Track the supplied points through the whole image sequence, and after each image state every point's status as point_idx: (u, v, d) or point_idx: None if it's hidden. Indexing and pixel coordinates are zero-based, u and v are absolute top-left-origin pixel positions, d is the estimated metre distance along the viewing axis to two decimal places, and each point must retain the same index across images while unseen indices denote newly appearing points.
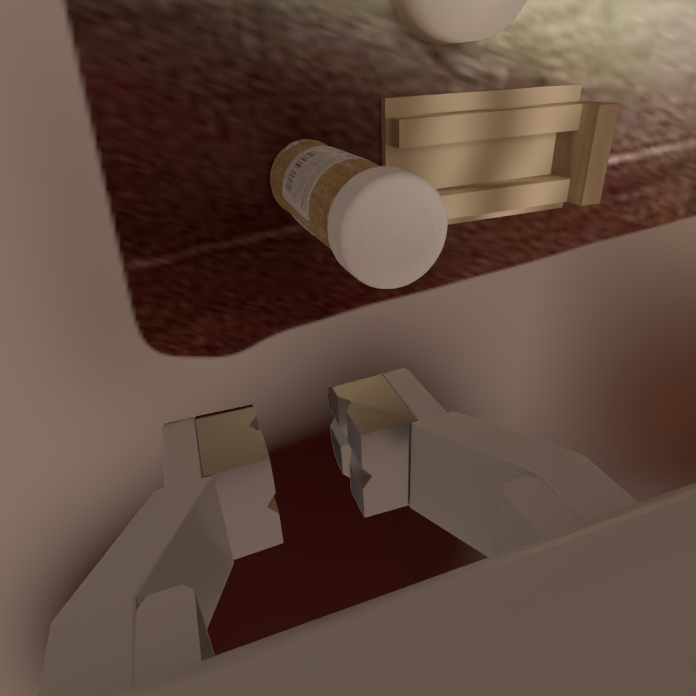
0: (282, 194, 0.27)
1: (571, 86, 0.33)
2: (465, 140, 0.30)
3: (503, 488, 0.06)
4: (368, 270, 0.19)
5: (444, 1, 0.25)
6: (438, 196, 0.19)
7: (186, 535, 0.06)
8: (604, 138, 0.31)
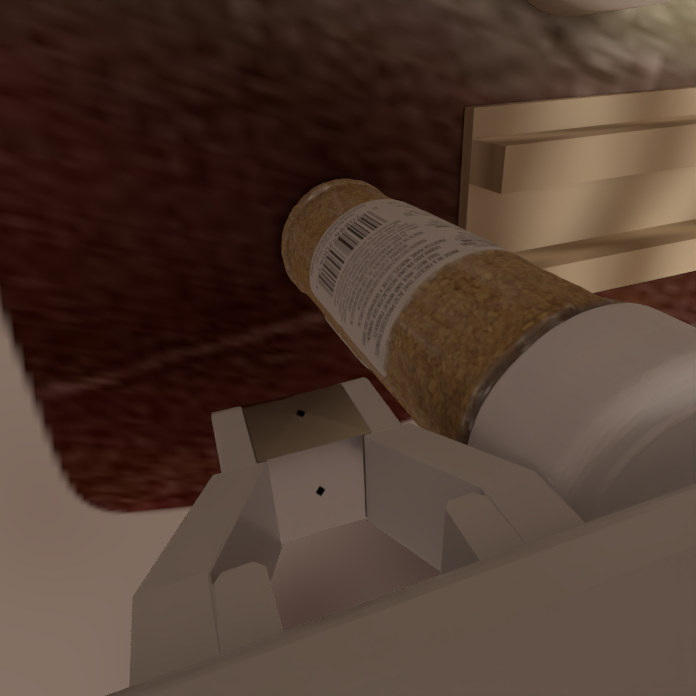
0: (308, 282, 0.15)
1: None
2: (605, 177, 0.18)
3: (448, 506, 0.06)
4: None
5: None
6: None
7: (247, 517, 0.06)
8: None
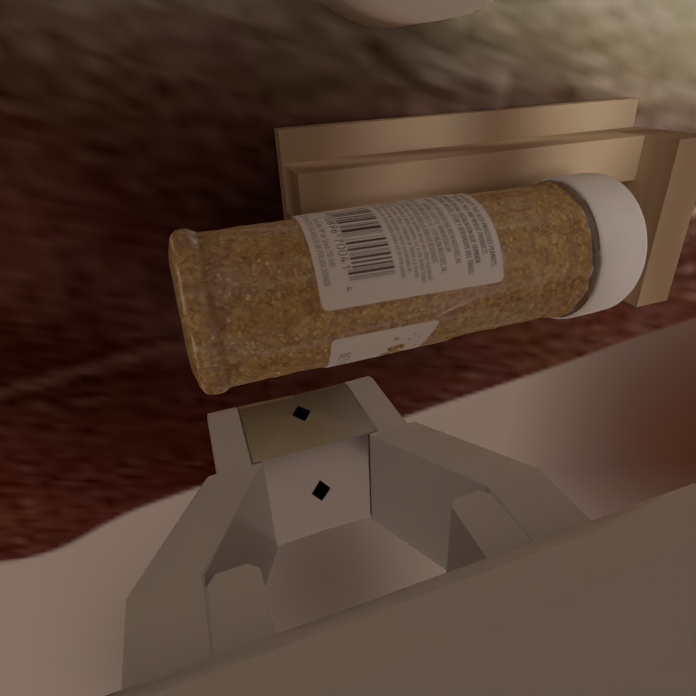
0: (303, 310, 0.12)
1: (620, 102, 0.19)
2: None
3: (454, 504, 0.06)
4: None
5: None
6: None
7: (242, 519, 0.06)
8: (683, 196, 0.17)
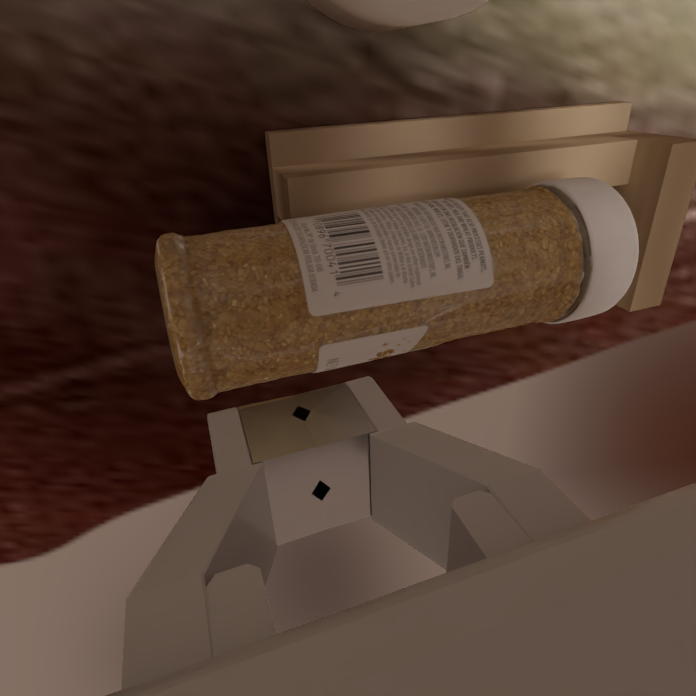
0: (290, 316, 0.12)
1: (614, 106, 0.19)
2: None
3: (454, 504, 0.06)
4: None
5: None
6: None
7: (242, 519, 0.06)
8: (676, 201, 0.17)
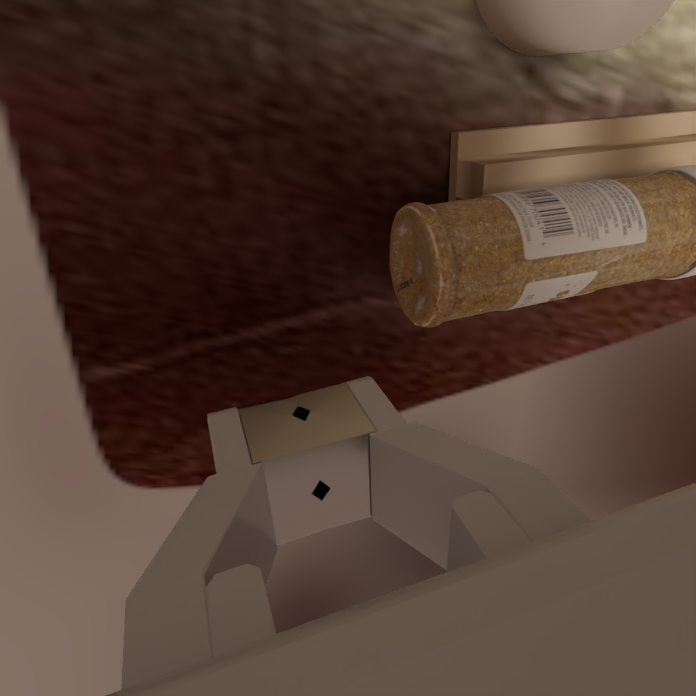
0: (511, 259, 0.17)
1: None
2: None
3: (454, 504, 0.06)
4: None
5: None
6: None
7: (242, 519, 0.06)
8: None
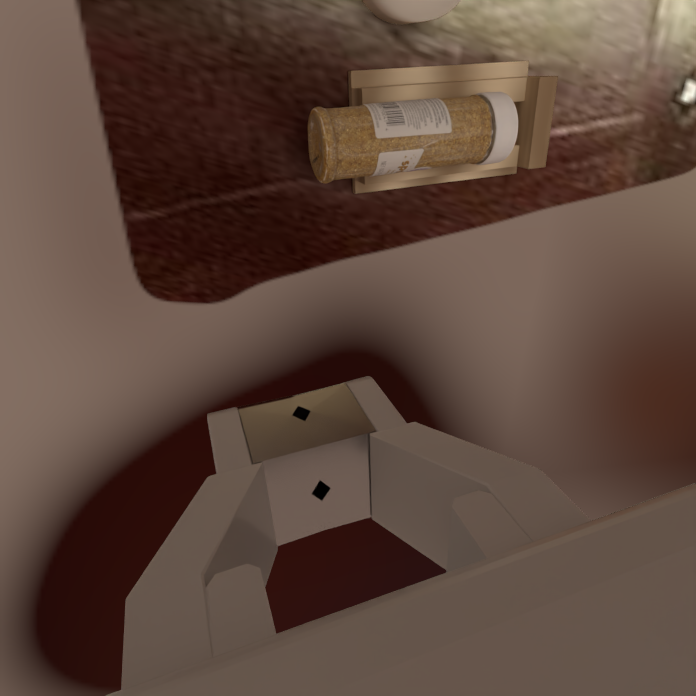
0: (368, 137, 0.30)
1: (519, 62, 0.37)
2: None
3: (454, 504, 0.06)
4: None
5: None
6: None
7: (242, 518, 0.06)
8: (546, 107, 0.35)
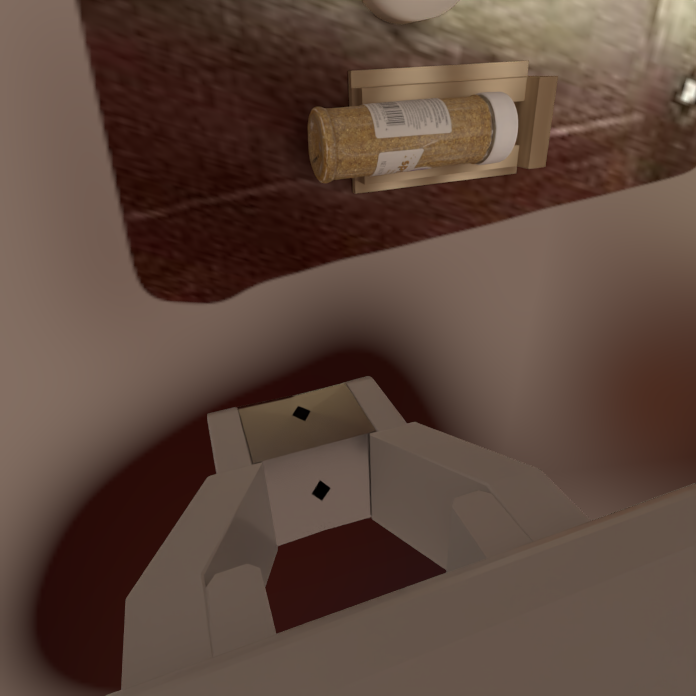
0: (368, 137, 0.30)
1: (519, 62, 0.37)
2: None
3: (454, 504, 0.06)
4: None
5: None
6: None
7: (242, 519, 0.06)
8: (546, 107, 0.35)
